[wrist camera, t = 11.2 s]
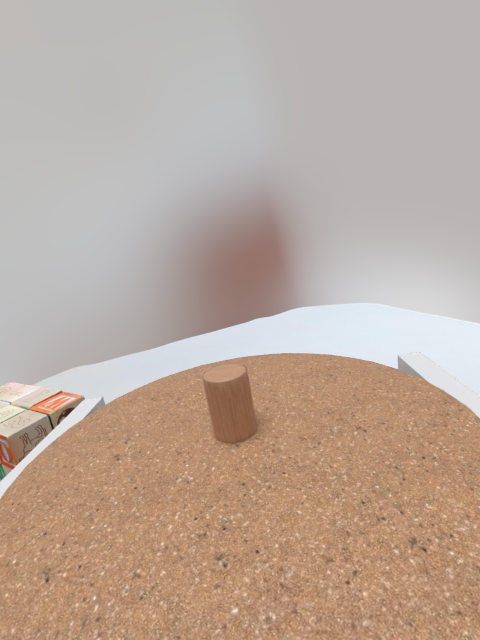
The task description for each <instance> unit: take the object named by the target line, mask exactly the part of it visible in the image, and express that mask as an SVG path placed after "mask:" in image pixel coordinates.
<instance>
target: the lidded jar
mask: <svg viewBox="0 0 480 640" xmlns="http://www.w3.org/2000/svg"><path fill="white" fill-rule="evenodd" d="M0 640H480V418H479V417H478V416H477V415H476V414H475V413H474V412H473V411H472V410H471V409H470V408H469V407H467V406H466V405H464V404H463V403H461V402H460V401H458V400H457V399H456V398H454V397H453V396H451V395H450V394H448V393H447V392H445V391H444V390H442V389H440V388H438V387H436V386H434V385H432V384H431V383H429V382H427V381H425V380H423V379H421V378H419V377H416V376H414V375H411V374H408V373H406V372H403V371H400V370H398V369H395V368H392V367H388V366H385V365H382V364H378V363H375V362H370V361H365V360H360V359H355V358H349V357H342V356H334V355H326V354H299V353H282V354H269V355H258V356H248V357H240V358H235V359H230V360H225V361H220V362H215V363H211V364H206V365H202V366H198V367H195V368H192V369H188V370H185V371H182V372H179V373H176V374H173V375H170V376H167V377H164V378H161V379H158V380H156V381H154V382H152V383H149V384H147V385H145V386H142V387H140V388H138V389H136V390H133V391H131V392H129V393H127V394H125V395H123V396H121V397H119V398H117V399H115V400H113V401H112V402H110V403H108V404H106V405H105V406H103V407H101V408H100V409H98V410H96V411H95V412H93V413H91V414H90V415H88V416H87V417H85V418H84V419H82V420H81V421H79V422H78V423H76V424H75V425H73V426H72V427H70V428H69V429H68V430H67V431H66V432H64V433H63V434H62V435H61V436H59V437H58V438H57V439H56V440H54V441H53V442H52V443H51V444H49V445H48V446H47V447H46V448H45V449H44V450H43V451H42V452H41V453H40V454H39V455H38V456H37V457H35V458H34V459H33V460H32V461H31V462H30V463H29V464H28V465H27V466H26V467H25V468H24V470H23V471H22V472H21V473H20V474H19V475H18V477H17V478H16V479H15V480H14V481H13V483H12V484H11V485H10V486H9V487H8V489H7V490H6V491H5V493H4V494H3V496H2V497H1V498H0Z"/></svg>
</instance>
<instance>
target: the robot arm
mask: <svg viewBox="0 0 480 640" xmlns="http://www.w3.org/2000/svg"><path fill="white" fill-rule="evenodd" d="M398 369H399V370H400V371H403V372H406V373H408V374H411V375H414V376H416V377H419V378H421V379H423V380H425V381H427V382H429V383H431V384H432V385H434V386H436V387H438V388H440V389H442V390H444V391H445V392H447V393H448V394H450V395H451V396H453V397H454V398H456V399H457V400H458V401H460V402H461V403H463V404H464V405H466V406H467V407H469V408H470V409H471V410H472V411H473V412H474V413H475V414H476V415H477V416H478V417H479V418H480V396H479V395H478V394H477V393H475V392H474V391H473V390H471V389H470V388H468V387H467V386H466V385H464V384H463V383H462V382H460V381H459V380H458V379H456V378H455V377H454V376H452V375H451V374H449V373H448V372H447V371H445V370H444V369H443V368H441V367H440V366H439V365H437V364H436V363H434V362H433V361H432V360H430V359H429V358H428V357H426V356H425V355H424V354H422V353H421V352H417V353H410V354H403V355H398ZM103 406H105V402H104V399H103V397H100V398H93V399H86V400H83V401H82V402H81V403H80V404H79V405H78V406H77V407H76V408H75V409H74V410H73V411H72V412H71V413H70V414H69V415H68V416H67V417H66V418H65V419H64V420H63V421H62V422H61V423H60V424H59V425H58V426H57V427H56V428H54V429H53V430H52V431H51V432H50V433H49V434H48V435H47V436H46V437H45V438H44V439H43V440H42V441H41V442H40V443H39V444H38V445H37V446H36V447H35V448H34V449H33V450H32V451H31V452H30V453H29V454H28V455H27V456H26V457H25V458H24V459H23V460H22V461H21V462H20V463H19V464H18V465H17V466H16V467H15V468H14V469H13V470H12V471H11V472H10V473H9V474H8V475H7V476H6V477H5V478H3V479H2V480H1V481H0V498H1V497H2V496H3V494H4V493H5V491H6V490H7V489H8V487H9V486H10V485H11V484H12V483H13V481H14V480H15V479H16V478H17V477H18V475H19V474H20V473H21V472H22V471H23V470H24V468H25V467H26V466H27V465H28V464H29V463H30V462H31V461H32V460H33V459H34V458H35V457H37V456H38V455H39V454H40V453H41V452H42V451H43V450H44V449H45V448H46V447H47V446H48V445H49V444H51V443H52V442H53V441H54V440H56V439H57V438H58V437H59V436H61V435H62V434H63V433H64V432H66V431H67V430H68V429H69V428H70V427H72V426H73V425H75V424H76V423H78V422H79V421H81V420H82V419H84V418H85V417H87V416H88V415H90V414H91V413H93V412H95V411H96V410H98V409H100V408H101V407H103Z"/></svg>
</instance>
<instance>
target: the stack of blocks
mask: <svg viewBox="0 0 480 640" xmlns="http://www.w3.org/2000/svg"><path fill="white" fill-rule="evenodd" d="M83 400H85V398H84V396H82V395H77V394H72V393H66V392H62V390H59V389H54V388H48V387H39V386H32V385H24V384H18V383H12V382H11V383H8V384H6V385H3V386H1V387H0V481H1V480H2V479H3V478H5V477H6V476H7V475H8V474H9V473H10V472H11V471H12V470H13V469H14V468H15V467H16V466H17V465H18V464H19V463H20V462H21V461H22V460H23V459H24V458H25V457H26V456H27V455H28V454H29V453H30V452H31V451H32V450H33V449H34V448H35V447H36V446H37V445H38V444H39V443H40V442H41V441H42V440H43V439H44V438H45V437H46V436H47V435H48V434H49V433H50V432H51V431H52V430H53V429H54V428H56V427H57V426H58V425H59V424H60V423H61V422H62V421H63V420H64V419H65V418H66V417H67V416H68V415H69V414H70V413H71V412H72V411H73V410H74V409H75V408H76V407H77V406H78V405H79V404H80V403H81V402H82V401H83Z"/></svg>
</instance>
